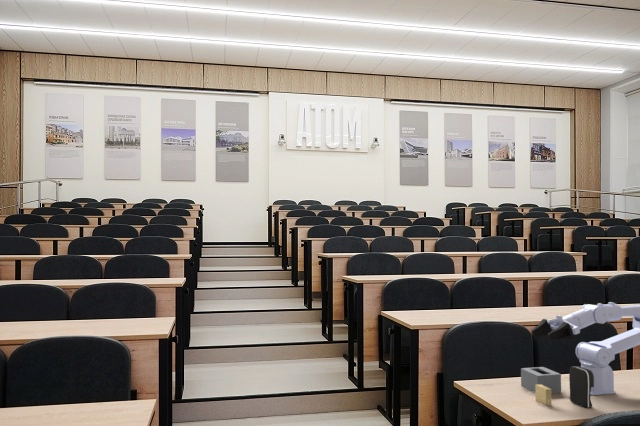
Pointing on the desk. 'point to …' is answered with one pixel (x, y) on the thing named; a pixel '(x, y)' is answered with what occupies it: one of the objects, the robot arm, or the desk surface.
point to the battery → (581, 385)
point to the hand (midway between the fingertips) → (540, 335)
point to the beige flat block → (543, 394)
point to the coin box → (540, 378)
